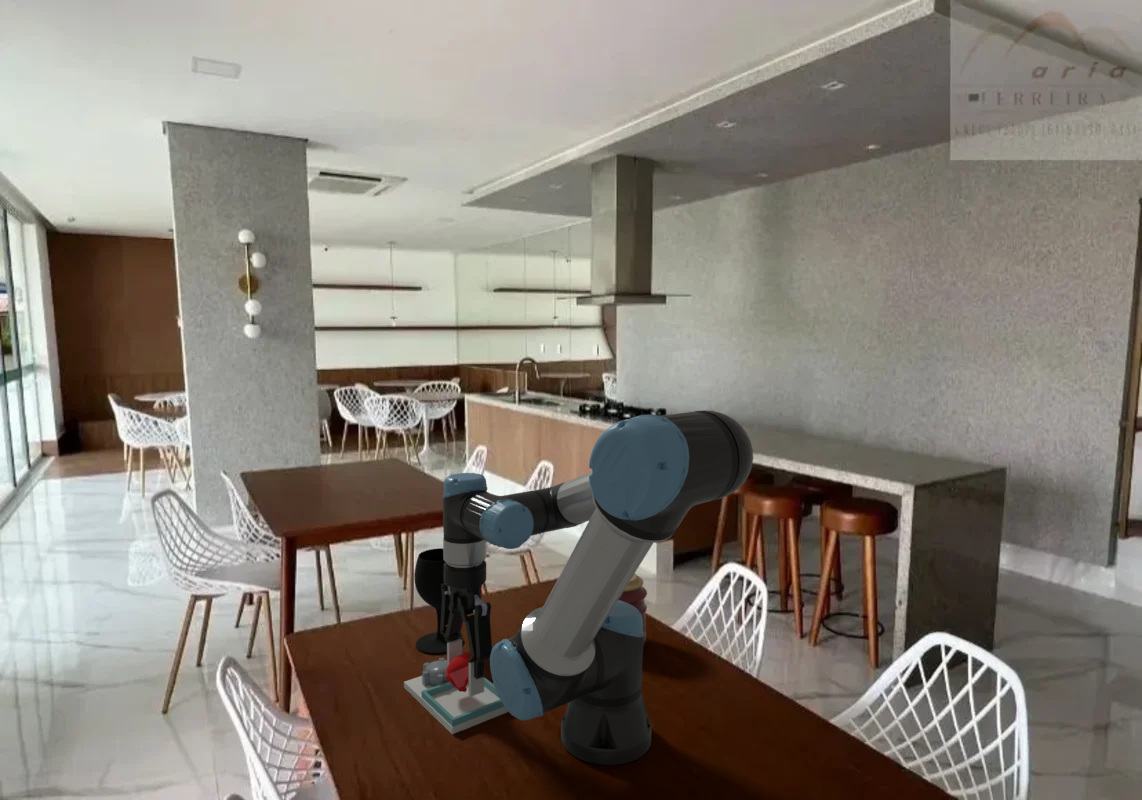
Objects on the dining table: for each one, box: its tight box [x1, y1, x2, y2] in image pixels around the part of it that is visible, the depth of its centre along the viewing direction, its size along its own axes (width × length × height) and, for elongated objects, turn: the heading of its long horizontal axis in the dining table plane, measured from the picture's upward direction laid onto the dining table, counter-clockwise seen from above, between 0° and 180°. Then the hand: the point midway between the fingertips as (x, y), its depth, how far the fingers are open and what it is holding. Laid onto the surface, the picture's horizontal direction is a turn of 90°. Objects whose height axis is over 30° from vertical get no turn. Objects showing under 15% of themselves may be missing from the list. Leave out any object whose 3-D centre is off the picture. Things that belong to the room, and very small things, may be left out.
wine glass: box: [413, 547, 465, 656], centre depth 146 cm, size 10×10×20 cm
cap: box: [446, 652, 486, 692], centre depth 122 cm, size 8×6×6 cm
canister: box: [618, 572, 648, 648], centre depth 147 cm, size 13×13×18 cm
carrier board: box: [403, 657, 509, 735], centre depth 124 cm, size 19×12×4 cm, turn 38°
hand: (465, 683), depth 122 cm, fingers closed on cap, 7 cm apart
